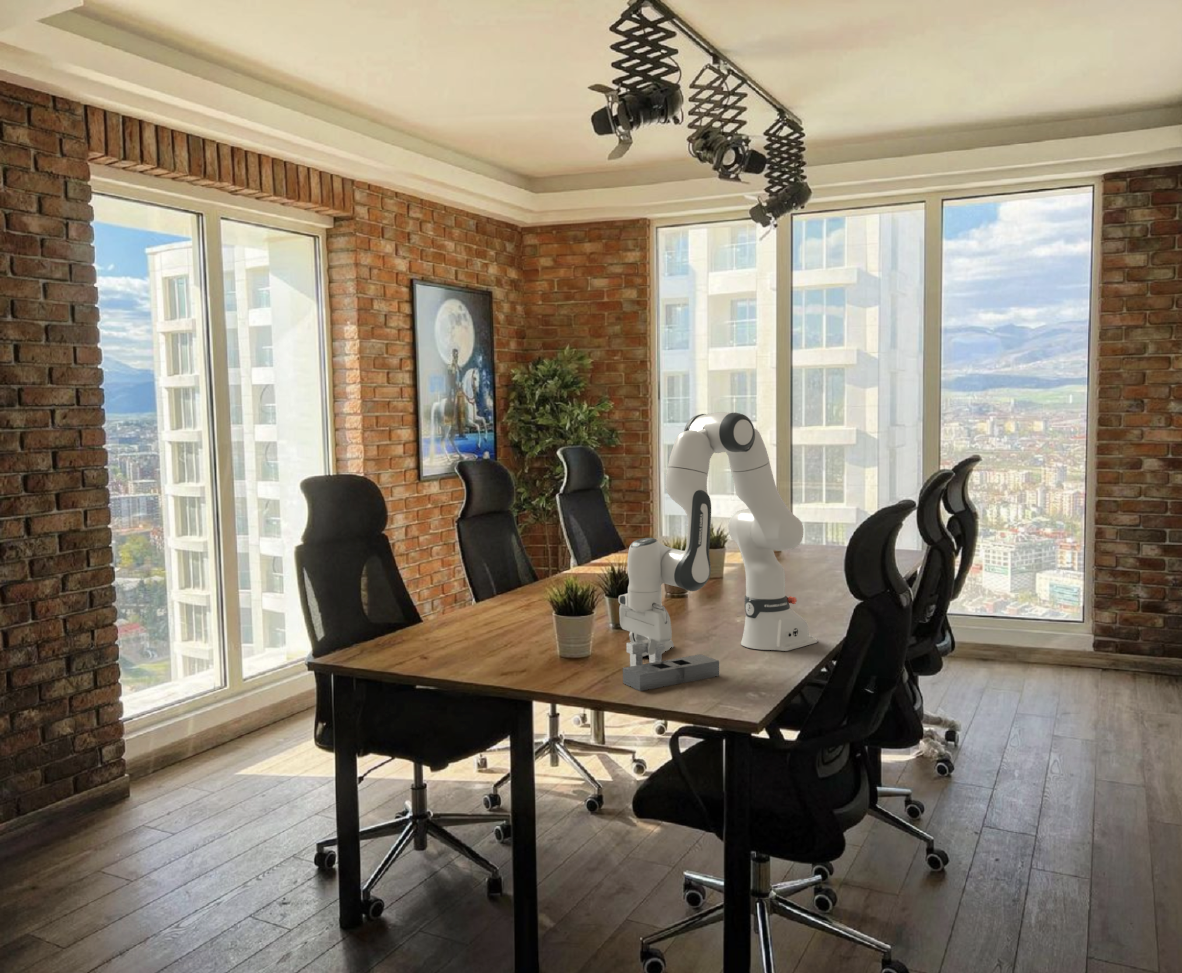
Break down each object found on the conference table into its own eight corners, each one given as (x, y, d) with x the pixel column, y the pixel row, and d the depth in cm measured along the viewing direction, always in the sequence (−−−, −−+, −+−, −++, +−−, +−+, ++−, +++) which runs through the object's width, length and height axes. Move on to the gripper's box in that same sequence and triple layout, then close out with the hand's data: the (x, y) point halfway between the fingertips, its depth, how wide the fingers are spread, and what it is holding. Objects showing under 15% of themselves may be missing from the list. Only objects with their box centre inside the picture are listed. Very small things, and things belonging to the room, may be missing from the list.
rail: (700, 669, 257) (700, 654, 257) (719, 676, 250) (719, 660, 250) (623, 683, 246) (622, 667, 245) (640, 691, 239) (639, 675, 238)
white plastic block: (651, 659, 268) (639, 625, 269) (636, 664, 270) (624, 629, 271) (674, 646, 283) (663, 613, 284) (660, 650, 285) (649, 617, 286)
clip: (658, 665, 262) (658, 637, 262) (664, 667, 260) (664, 640, 259) (626, 670, 257) (626, 642, 257) (633, 673, 255) (632, 645, 254)
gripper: (677, 605, 250) (678, 658, 251) (634, 593, 267) (635, 643, 268) (656, 608, 246) (657, 662, 248) (614, 595, 264) (616, 646, 265)
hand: (645, 652), depth 258 cm, fingers open, 3 cm apart
